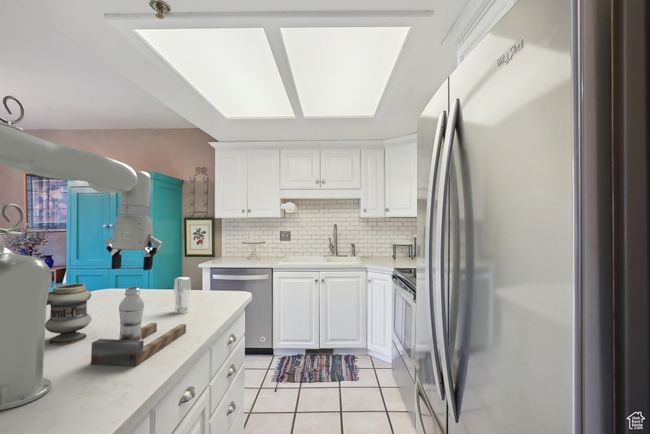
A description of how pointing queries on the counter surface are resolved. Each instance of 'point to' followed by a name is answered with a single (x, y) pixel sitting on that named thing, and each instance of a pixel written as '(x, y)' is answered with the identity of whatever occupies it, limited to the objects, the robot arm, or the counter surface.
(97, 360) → the guide track
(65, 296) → the apothecary jar
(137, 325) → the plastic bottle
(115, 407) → the counter surface
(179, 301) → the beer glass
